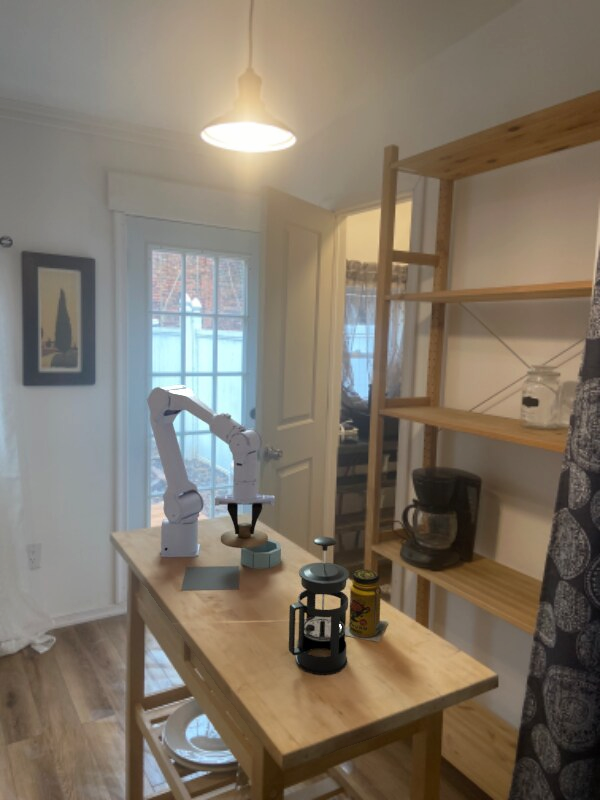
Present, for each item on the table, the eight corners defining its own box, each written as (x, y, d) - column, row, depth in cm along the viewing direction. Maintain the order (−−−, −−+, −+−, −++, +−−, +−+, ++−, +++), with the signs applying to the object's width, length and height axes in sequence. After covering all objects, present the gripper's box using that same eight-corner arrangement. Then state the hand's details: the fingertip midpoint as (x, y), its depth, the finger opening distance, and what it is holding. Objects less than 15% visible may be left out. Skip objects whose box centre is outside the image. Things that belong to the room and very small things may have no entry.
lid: (218, 548, 142) (218, 532, 142) (222, 531, 154) (222, 517, 153) (267, 548, 143) (267, 532, 142) (268, 532, 154) (268, 517, 154)
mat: (181, 591, 135) (181, 590, 135) (186, 567, 148) (186, 566, 148) (238, 590, 136) (238, 589, 136) (239, 567, 149) (238, 565, 149)
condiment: (342, 635, 118) (344, 577, 116) (353, 616, 126) (355, 561, 124) (378, 643, 116) (381, 584, 114) (387, 622, 124) (390, 567, 122)
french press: (333, 641, 116) (337, 526, 113) (360, 666, 107) (365, 543, 104) (278, 656, 110) (281, 535, 107) (302, 683, 102) (306, 554, 99)
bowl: (241, 569, 148) (241, 554, 147) (240, 553, 158) (241, 539, 157) (281, 568, 149) (281, 553, 148) (278, 553, 159) (279, 538, 158)
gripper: (214, 483, 142) (214, 538, 143) (275, 483, 143) (274, 538, 145) (215, 475, 149) (215, 528, 150) (274, 476, 150) (273, 528, 152)
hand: (244, 532), depth 148 cm, fingers closed on lid, 3 cm apart
